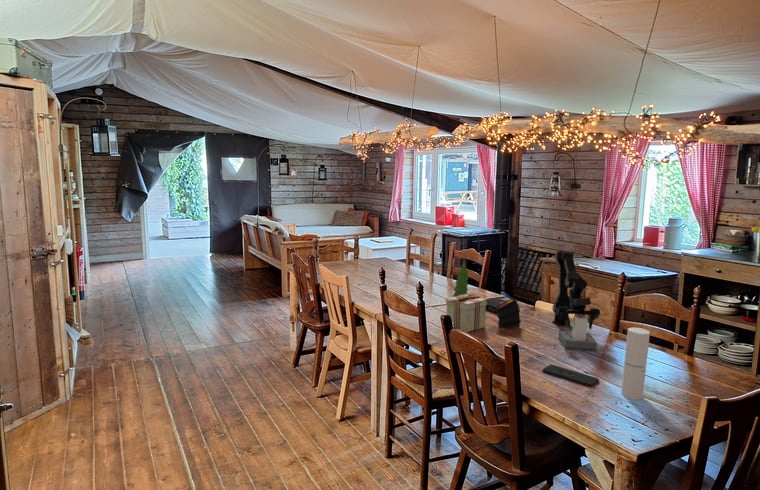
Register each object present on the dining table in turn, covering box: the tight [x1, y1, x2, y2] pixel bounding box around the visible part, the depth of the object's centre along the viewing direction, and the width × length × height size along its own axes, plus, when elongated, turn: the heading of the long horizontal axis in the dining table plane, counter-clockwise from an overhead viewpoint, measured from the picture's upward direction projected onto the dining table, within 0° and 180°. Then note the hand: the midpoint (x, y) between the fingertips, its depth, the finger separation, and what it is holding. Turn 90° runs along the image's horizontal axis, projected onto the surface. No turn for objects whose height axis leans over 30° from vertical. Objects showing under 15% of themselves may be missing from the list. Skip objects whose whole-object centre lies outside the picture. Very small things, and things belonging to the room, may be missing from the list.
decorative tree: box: [452, 259, 469, 297], centre depth 290 cm, size 10×9×30 cm
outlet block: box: [558, 330, 598, 352], centre depth 238 cm, size 14×14×4 cm
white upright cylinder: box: [571, 314, 588, 341], centre depth 235 cm, size 5×5×15 cm
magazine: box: [495, 297, 522, 329], centre depth 262 cm, size 4×13×15 cm, turn 103°
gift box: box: [444, 292, 488, 333], centre depth 261 cm, size 17×18×17 cm
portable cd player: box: [486, 297, 520, 315], centre depth 296 cm, size 16×17×4 cm
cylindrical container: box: [620, 327, 651, 401], centre depth 184 cm, size 7×7×25 cm
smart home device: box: [542, 364, 600, 388], centre depth 202 cm, size 8×2×20 cm
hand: (580, 328), depth 234 cm, fingers open, 9 cm apart
